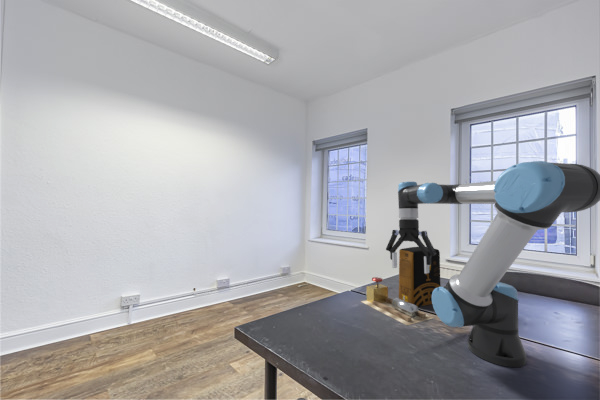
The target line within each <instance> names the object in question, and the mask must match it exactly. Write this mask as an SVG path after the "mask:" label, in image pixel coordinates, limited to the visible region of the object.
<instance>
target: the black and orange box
mask: <svg viewBox="0 0 600 400" xmlns="http://www.w3.org/2000/svg"><path fill="white" fill-rule="evenodd" d="M425 247H426V248H427V246H425ZM427 249H428V248H427ZM434 249H435V251H436V255H433V256H431V265H429V273H427V274H425V273H424V256H426V255H425V254H424V253H423V251H422V250H421V249H420V248H419V246H413V247H412V246H411V247H406V248H405V247H403V248H400V249H399V251H398V252H399V253H398V255H399V257H398V258H399V259H398V260H399V261H398V264H399V265H398V298H399V299H402V300H404V301H407V302H409V303H411V304H414V305H416V306H417V307H418V308H419V307H424V306H430V305H433V304H432V292H433V290H434V289H435V288H438V287H442V286H441V257H440V256H441V255H440V254H441V252H440V250H439V249H437V248H434Z"/></svg>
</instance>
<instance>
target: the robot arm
mask: <svg viewBox="0 0 600 400" xmlns="http://www.w3.org/2000/svg"><path fill="white" fill-rule="evenodd" d="M397 195H398V197H397V198H398V200H397V201H398V217H399V220H398V227H399V230H398V229H393V230H392V232H391V236H390V239H389V240H388V243H387V246H386V248H385V251H388V252H389V254H390V260H391V261H392V263H391V266H392V267H391V268H392V269H396V268H398V252H396V251H397V250H398V248H399V247H400V246H401V245H402V244H403V243H404V242H414V243H415V244H416V245H417V247H419V248H420V249H421V250H422V251H423V253H424V254H425V255H426V256H424V273H425V274H427V273H429V265H431V256H433V255H436V251H435V249H436V248H434V246H433V244H432V242H431V241H430V239H429V236H428V231H427V230H422V231H420V230H419V228H420V227H419V226H420V225H419V219H418V218H419V205H420V204H421V205H425V204H428V205H429V204H432V205H433V204H437V205H438V204H442V205H443V204H445V205H463V204H464V205H465V204H466V205H469V204H470V205H480V204H481V205H494V209H495V211H496V215H495V216H494V217H493V219H492V221H491V223H490V225H489V226H488V228H487V229H486V231H485V233H484V234H483V236H482V237H481V239H480V240H479V242H478V243H477V245H476V247H475V249H474V251H473V252H472V253H471V255H470V257H469V259H468V260H467V261H466V264H465V265H464V267H463V268H462V270H461V271H460V273H459V274H454V275H452V276H451V277H450V278H449V280H448V281H447V283H446V284H445V286H441V287H438V288H435V289H434V290H433V292H432V304H431V305H432V307H433V311H434V312H435V314H436V316H437V317H438V319H439V320H440V321H441V322H442V323H443V324H445V326H448V327H451V328H457V327H458V328H462V327H471V326H472V328H471V330H470V332H469V335H468V337H467V348H468V349H469V351H470V352H471V353H472V354H474V355H475V356H477V357H478V358H480V359H483V360H485V361H487V362H489V363H492V364H496V365H498V366H503V367H509V368H521V367H524V366H526V364H527V353H526V351H525V348H524V346H523V342H522V341H521V338H520V335H519V301H520V299H519V298H518V297H519V295H518V290H517V289H516V287H514V285H510V284H508V283H504V282H501V280H502V278H503V277H504V276H505V274H506V273H507V272H508V270H509V269H510V267H511V266H512V265H513V263H514V262H515V261H516V260H517V258H518V257H519V256H520V254H521V253H522V252H523V250H524V249H525V248H526V246H527V245H528V243H529V242H530V241H531V239H532V238H533V236H535V234H536V233H537V231H539V230H545V229H546V230H547V229H550V227H552V225H553V224H554V223H555V222H556V221H557V219H558V218H559V216H560V215H561V214H562V213H577V212H582V211H586V210H588V209H590V208H592V207H594V206H596V205H597V204H598V202H600V173H599V172H598V171H597V170H595V169H593V168H592V167H590V166H587V165H583V164H577V163H564V162H563V163H561V162H548V161H545V160H543V161H542V160H538V161H537V160H536V161H535V160H533V161H524V162H519V163H516V164H514V165H511V166H509V167H508V168H505V170H503V171H502V172H501V174H499V176H498V177H497V178H496V180H493V181H492V180H491V181H483V182H482V181H480V182H470V183H458V184H440V183H439V184H438V183H437V182H425V183H422V184H418V182H417V181H401V182H400V183H398V187H397ZM398 235H399V238H397V237H398ZM419 236H420V237H421V239H422V241H423V242H424V243H423V242H422V241H421V239H420V237H419ZM397 239H398V240H397ZM396 240H397V241H396ZM426 247H427V248H428V249H427V248H426Z"/></svg>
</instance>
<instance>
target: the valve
mask: <svg viewBox="0 0 600 400" xmlns="http://www.w3.org/2000/svg"><path fill="white" fill-rule="evenodd" d="M371 281H373V282H375V284H372V285H366V290H365V296H366V300H367V301H369V302H371V303H372V301H378V302H380V303H381V302H386V298H389V286H387V285H385V284H382V283H381V282H383V278H382V277H378V276H377V277H376V276H374V277H372V278H371Z"/></svg>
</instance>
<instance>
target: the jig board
mask: <svg viewBox="0 0 600 400" xmlns="http://www.w3.org/2000/svg"><path fill="white" fill-rule="evenodd" d="M393 299H394V298H393ZM393 299H392V298H391V297H388V298H386V302H381V303H380V302H378V301H372V303H371V302H369V301H367V299H366V300H365V299H364V300H360V302H361V303H362V304H365V305H366V306H368V307H371V308H372V309H374V310H376V311H378V312H380V313H382V314H384V315H385V316H388V317H389V318H391V319H394V320H395V321H397V322H400V323H401V324H403V325H405V326H410V325H414V324H417V323H422V322H425V321H428V320H432V319H435V317H434V316H431V315H428V314H427V313H426V312H423V311H420V310H418V314H417V316H416V317H411V316H409V315H407V314H405V313H402V312H400V311H398V310H396V309H394V308H393V307H392V301H393Z"/></svg>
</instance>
